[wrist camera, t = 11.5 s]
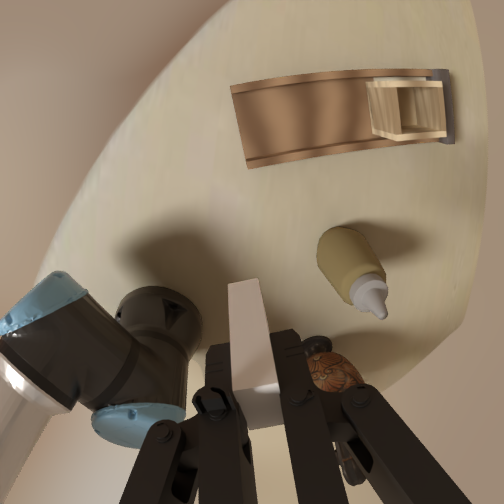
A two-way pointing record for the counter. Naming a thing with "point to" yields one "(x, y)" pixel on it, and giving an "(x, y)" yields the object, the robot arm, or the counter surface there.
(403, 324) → the counter surface
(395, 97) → the crate
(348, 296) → the squeeze bottle
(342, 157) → the counter surface
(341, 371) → the vase
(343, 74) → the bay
